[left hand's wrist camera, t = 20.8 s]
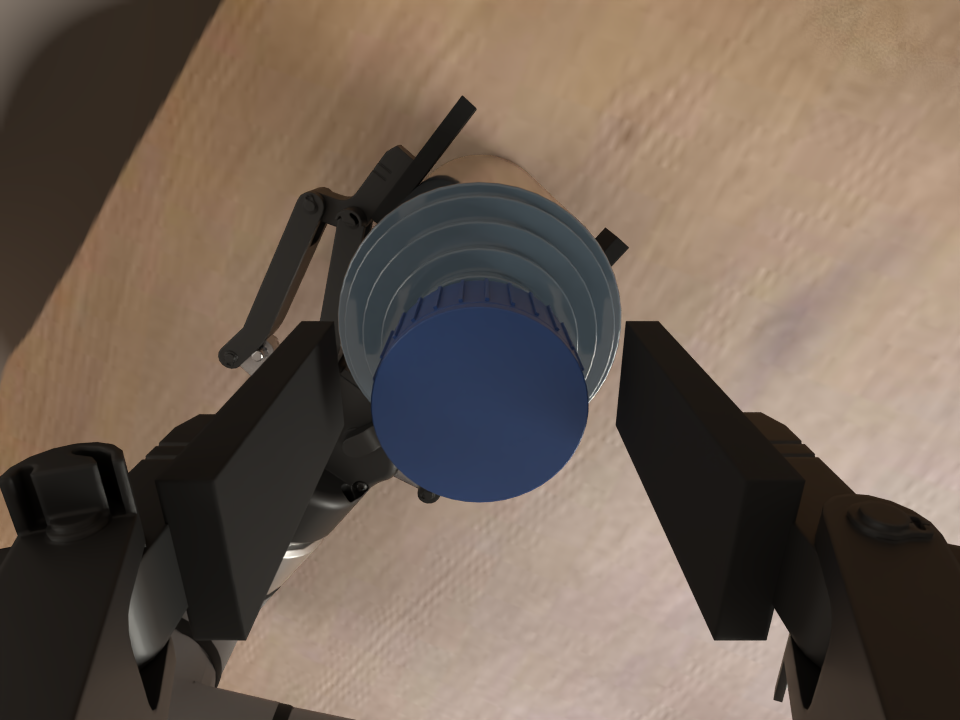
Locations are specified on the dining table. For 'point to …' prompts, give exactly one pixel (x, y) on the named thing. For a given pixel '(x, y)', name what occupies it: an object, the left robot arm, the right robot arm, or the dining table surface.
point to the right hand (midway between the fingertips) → (545, 173)
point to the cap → (479, 393)
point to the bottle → (479, 261)
